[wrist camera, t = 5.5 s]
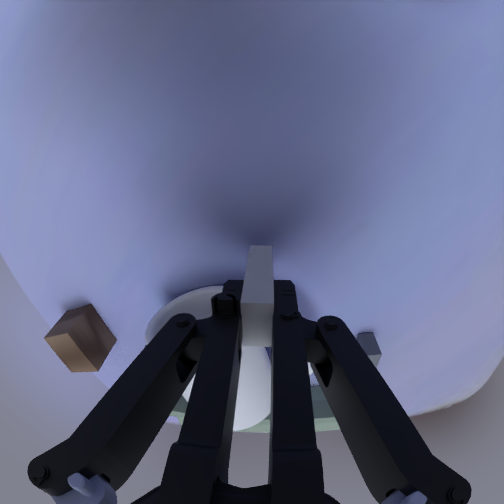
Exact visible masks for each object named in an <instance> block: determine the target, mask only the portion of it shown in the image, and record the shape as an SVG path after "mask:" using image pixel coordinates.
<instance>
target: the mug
mask: <svg viewBox="0 0 504 504" xmlns="http://www.w3.org/2000/svg"><path fill="white" fill-rule="evenodd" d="M222 290H223V286H209V287H203V288H199V289H196V290H193V291H190V292H187V293H185V294H183V295H181V296H179V297H177V298H175V299H174V300H172V301H170V302H169V303H168V304H166V305H165V306H164V307H162V308H161V309H160V310H159V311H158V312H157V313H156V314H155V315H154V317H153V318H152V319H151V321H150V322H149V324H148V326H147V329H146V333H145V341H146V345H148V343H149V342H150V341H151V340H152V339H153V338H154V337H155V335H156V334H157V333H158V332H159V331H160V330H161V328H162V327H163V326H164V325H165V324H166V323H167V322H168V320H169V319H170V318H171V317H173V316H174V315H176V314H180V313H189V314H191V315H193V316H194V317H195V318H196V320H199V319H205V318H208V317H211V316H212V306H211V298H212V297H213V296H214V295H216V294H218V293H221V292H222ZM308 369H309V376H310V375H311V374H312V373H313V370H312V368H311V366H310V362H308ZM195 374H196V373H195ZM194 378H195V375H194V377H193V378H192V380H191V382H190V383H189V385H188V386H187V388H186V390H185V391H184V393H183V394H182V396H183V397H184V398H185V399H186V401H187V402H188V400H189V397H190V393H191V389H192V385H193V382H194ZM270 405H271V362H270V359H269V356H268V354H267V351H266V348H265V347H250V346H242V357H241V366H240V374H239V383H238V391H237V400H236V408H235V417H234V425H233V431H238V430H243V429H246V428H249V427H252V426H254V425H256V424H258V423H259V422H261V421H262V420H263V419H265V418H266V417H267V416H268V415H269V414H270Z"/></svg>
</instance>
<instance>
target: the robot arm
mask: <svg viewBox="0 0 504 504" xmlns="http://www.w3.org/2000/svg"><path fill="white" fill-rule="evenodd" d="M211 306H212V316H211V317H208V318H205V319H199V320H196V318H195V317H194V316H193V315H191V314H189V313H180V314H176V315H174V316H173V317H171V318H170V319H169V320H168V322H167V323H166V324H165V325H164V326H163V327H162V328H161V330H160V331H159V332H158V333H157V334H156V335H155V337H154V338H153V339H152V340H151V341H150V342H149V343H148V345H147V346H146V347H145V348H144V349H143V350H142V352H141V353H140V354H139V355H138V356H137V357H136V359H135V360H134V361H133V362H132V363H131V364H130V366H129V367H128V368H127V369H126V370H125V372H124V373H123V374H122V375H121V376H120V377H119V379H118V380H117V381H116V382H115V383H114V385H113V386H112V387H111V388H110V389H109V390H108V392H107V393H106V394H105V395H104V397H103V398H102V399H101V400H100V401H99V402H98V404H97V405H96V406H95V407H94V409H93V410H92V411H91V412H90V413H89V415H88V416H87V417H86V418H85V420H84V421H83V422H82V423H81V424H80V425H79V427H78V428H77V429H76V431H75V432H74V433H73V434H72V435H71V436H70V438H68V439H67V440H65V441H64V442H62V443H60V444H58V445H57V446H55V447H53V448H52V449H50V450H48V451H46V452H45V453H43V454H41V455H39V456H38V457H36V458H34V459H33V460H32V461H31V462H30V464H29V466H28V476H29V479H30V481H31V482H32V483H33V484H34V485H35V486H37V487H38V488H39V489H41V490H43V491H44V492H46V493H48V494H49V495H51V496H52V498H53V499H54V501H55V502H56V504H117V496H116V492H115V491H116V490H118V489H119V488H120V487H121V486H122V485H123V484H124V483H125V482H126V481H127V480H128V478H129V477H130V476H131V474H132V473H133V471H134V470H135V468H136V467H137V465H138V464H139V462H140V461H141V459H142V457H143V456H144V454H145V453H146V451H147V450H148V448H149V447H150V445H151V443H152V442H153V440H154V439H155V437H156V436H157V434H158V432H159V431H160V429H161V428H162V426H163V424H164V423H165V421H166V420H167V418H168V417H169V415H170V414H171V412H172V410H173V409H174V407H175V406H176V404H177V402H178V401H179V399H180V398H181V396H182V394H183V393H184V391H185V390H186V388H187V386H188V385H189V383H190V382H191V380H192V378H193V377H194V375H195V378H194V382H193V385H192V389H191V393H190V397H189V400H188V404H187V408H186V412H185V416H184V420H183V424H182V428H181V432H180V435H179V439H178V441H177V442H175V443H173V444H172V446H171V448H170V451H169V455H168V458H167V462H166V466H165V470H164V474H163V478H162V482H161V485H160V486H158V487H156V488H155V489H153V490H151V491H150V492H148V493H147V494H145V495H144V496H142V497H140V498H139V499H137V500H136V501H134V502H132V503H131V504H340V503H339V502H338V501H337V500H335V499H334V498H333V497H331V496H330V495H328V494H326V493H324V481H323V467H322V458H321V453H320V450H319V449H317V445H316V435H315V423H314V413H313V404H312V395H311V386H310V377H309V369H308V362H310V366H311V368H312V370H313V372H314V374H315V376H316V378H317V381H318V383H319V385H320V387H321V389H322V391H323V393H324V395H325V398H326V400H327V402H328V404H329V406H330V408H331V410H332V412H333V415H334V417H335V419H336V421H337V423H338V425H339V427H340V429H341V432H342V434H343V436H344V438H345V440H346V442H347V444H348V446H349V449H350V451H351V453H352V455H353V457H354V459H355V461H356V464H357V466H358V468H359V470H360V472H361V474H362V477H363V479H364V481H365V483H366V485H367V487H368V489H369V491H370V492H371V494H372V495H373V497H374V498H375V499H376V501H377V502H378V503H379V504H467V503H468V501H469V499H470V497H471V486H470V484H469V483H468V481H467V480H466V479H464V478H463V477H462V476H460V475H459V474H457V473H456V472H455V471H453V470H452V469H451V468H449V467H448V466H447V465H445V464H444V463H443V462H441V461H440V460H438V459H437V458H436V457H435V456H433V455H432V453H431V452H430V450H429V449H428V447H427V445H426V444H425V442H424V441H423V439H422V437H421V436H420V434H419V433H418V431H417V430H416V428H415V426H414V425H413V423H412V422H411V420H410V418H409V417H408V415H407V414H406V412H405V411H404V409H403V408H402V406H401V405H400V403H399V401H398V400H397V398H396V397H395V395H394V394H393V392H392V391H391V389H390V388H389V386H388V385H387V383H386V382H385V380H384V379H383V377H382V376H381V375H380V373H379V372H378V370H377V369H376V367H375V366H374V364H373V363H372V361H371V360H370V358H369V357H368V356H367V354H366V353H365V351H364V350H363V348H362V347H361V346H360V344H359V343H358V341H357V340H356V338H355V337H354V336H353V334H352V333H351V331H350V330H349V328H348V327H347V326H346V324H345V323H344V322H343V321H342V320H341V319H340V318H338V317H335V316H324V317H321V318H320V319H319V320H318V321H317V322H315V321H310V320H307V319H305V318H303V317H302V316H301V314H300V312H299V311H298V305H297V298H296V291H295V285H294V284H293V283H292V282H291V281H290V280H273V245H250V246H249V253H248V259H247V265H246V271H245V277H244V280H228V281H227V282H226V283H225V284H224V286H223V290H222V292H221V293H218V294H216V295H214V296H213V297H212V298H211ZM242 346H250V347H272V349H271V405H270V446H269V474H268V484H267V485H262V486H257V487H250V488H239V487H236V486H233V485H229V484H228V468H229V459H230V450H231V442H232V433H233V425H234V417H235V408H236V400H237V391H238V383H239V374H240V366H241V357H242ZM195 373H196V374H195Z"/></svg>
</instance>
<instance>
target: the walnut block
mask: <svg viewBox="0 0 504 504" xmlns="http://www.w3.org/2000/svg"><path fill="white" fill-rule="evenodd" d="M44 339H45V340H46V341H47V343H48V344H49V345H50V347H51V348H52V349H53V350H54V352H55V353H56V354H57V355H58V357H59V358H60V359H61V360H62V361H63V363H64V364H65V365H66V366H67V367H68V368H69V370H70V371H71V372H96V371H99V369H100V368H101V366H102V364H103V362H104V361H105V359H106V357H107V356H108V354H109V352H110V351H111V349H112V347H113V346H114V344H115V342H116V341H117V339H116V338H115V336H114V335H113V334H112V332H111V331H110V330H109V328H108V327H107V326H106V324H105V323H104V321H103V320H102V318H101V317H100V316H99V314H98V313H97V311H96V310H95V308H94V307H93V305H92V304H89V305H85V306H82V307H79V308H76V309H73V310H70V311H67V312H66V313H65V314H64V315H63V316H62V317H61V318H60V319H59V321H58V322H57V323H56V324H55V325H54V327H53V328H52V329H51V330H50V331H49V333H48V334H47V335H46V336H45V337H44Z"/></svg>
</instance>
